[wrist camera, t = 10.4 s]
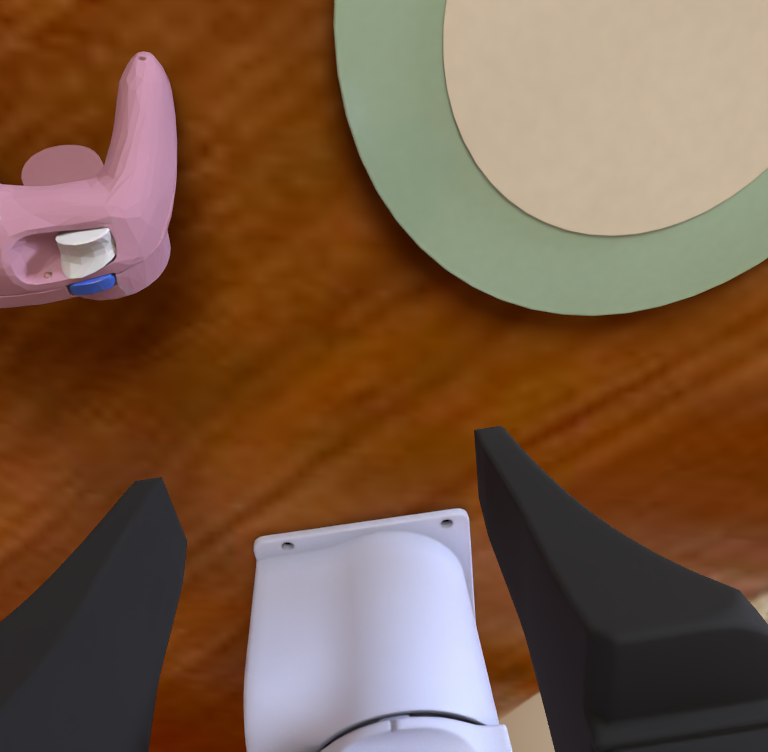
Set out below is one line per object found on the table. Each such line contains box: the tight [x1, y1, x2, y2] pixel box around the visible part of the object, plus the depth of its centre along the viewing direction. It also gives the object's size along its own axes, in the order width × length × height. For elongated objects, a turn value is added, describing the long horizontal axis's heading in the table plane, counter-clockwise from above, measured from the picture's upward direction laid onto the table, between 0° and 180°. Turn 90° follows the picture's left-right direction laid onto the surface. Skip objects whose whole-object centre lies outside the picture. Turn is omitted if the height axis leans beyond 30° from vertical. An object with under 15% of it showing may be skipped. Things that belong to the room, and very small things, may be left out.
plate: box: [333, 0, 768, 316], centre depth 19 cm, size 18×18×1 cm
